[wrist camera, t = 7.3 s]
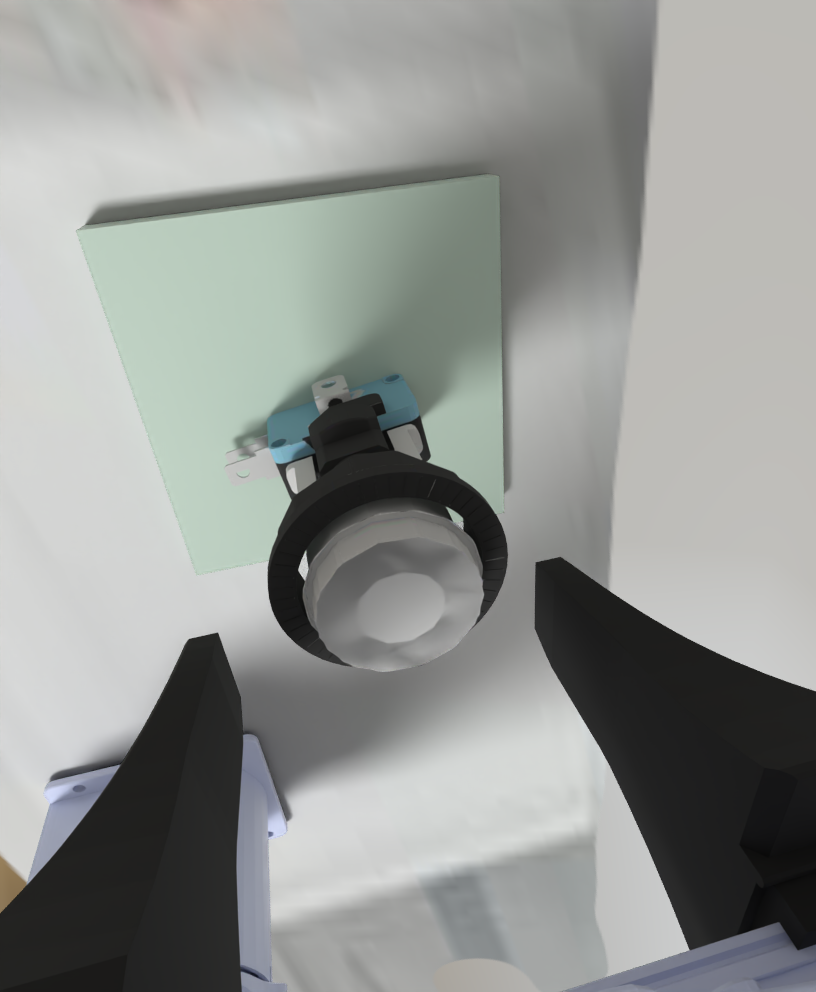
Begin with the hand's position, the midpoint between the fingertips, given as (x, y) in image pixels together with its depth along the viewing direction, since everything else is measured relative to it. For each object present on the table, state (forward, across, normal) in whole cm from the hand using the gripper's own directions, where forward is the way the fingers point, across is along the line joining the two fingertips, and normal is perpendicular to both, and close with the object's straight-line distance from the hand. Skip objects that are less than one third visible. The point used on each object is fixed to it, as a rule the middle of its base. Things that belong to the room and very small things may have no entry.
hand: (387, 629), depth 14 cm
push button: (+10, 0, -1) cm, 10 cm away
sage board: (+10, 0, -2) cm, 10 cm away
